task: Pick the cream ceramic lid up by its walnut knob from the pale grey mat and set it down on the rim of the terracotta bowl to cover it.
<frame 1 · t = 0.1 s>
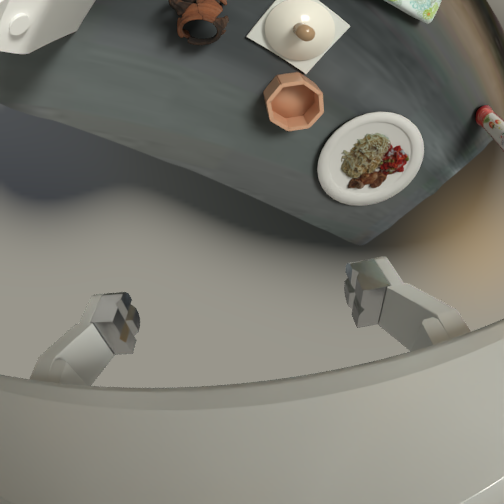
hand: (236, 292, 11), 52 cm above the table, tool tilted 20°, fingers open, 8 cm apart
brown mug: (199, 11, 39), on the table
bowl: (290, 96, 55), on the table
mat: (299, 28, 43), on the table
liquor: (481, 112, 56), on the table
plated food: (371, 158, 70), on the table
lid: (300, 29, 43), point 1 cm above the table, touching mat
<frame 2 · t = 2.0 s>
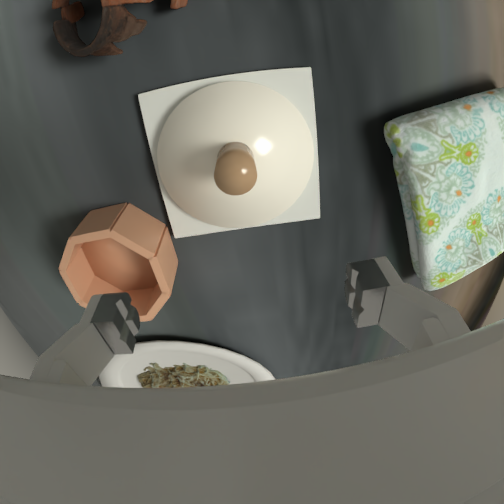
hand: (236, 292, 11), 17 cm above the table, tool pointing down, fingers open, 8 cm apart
bowl: (125, 251, 30), on the table
mat: (235, 154, 25), on the table
plated food: (188, 387, 46), on the table
towel: (460, 182, 28), on the table
lid: (235, 156, 24), point 1 cm above the table, touching mat
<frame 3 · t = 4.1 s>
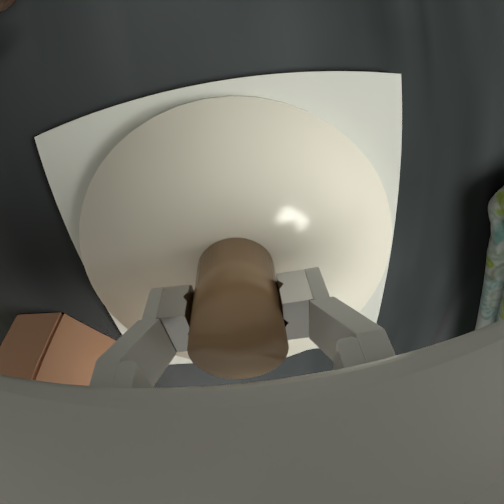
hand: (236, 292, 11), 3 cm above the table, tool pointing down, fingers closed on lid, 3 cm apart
bowl: (77, 365, 18), on the table
mat: (235, 250, 13), on the table
lid: (235, 258, 13), point 1 cm above the table, touching gripper, mat
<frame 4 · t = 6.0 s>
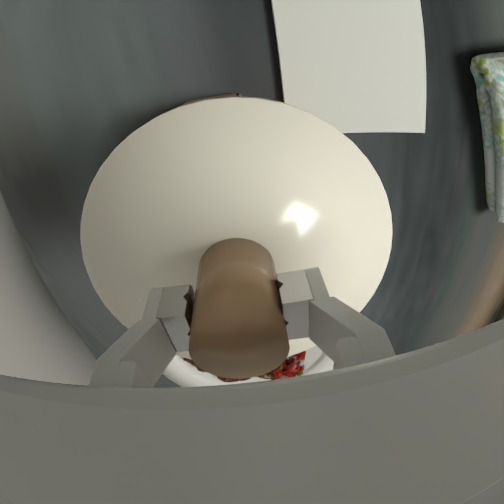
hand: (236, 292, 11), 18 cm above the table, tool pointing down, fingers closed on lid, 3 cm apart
mat: (357, 58, 21), on the table
plated food: (249, 344, 43), on the table
lid: (236, 258, 13), point 16 cm above the table, touching gripper
when the fingers open (8 cm above the table, at t = 8.1 s): lid stays where it is, resting on bowl.
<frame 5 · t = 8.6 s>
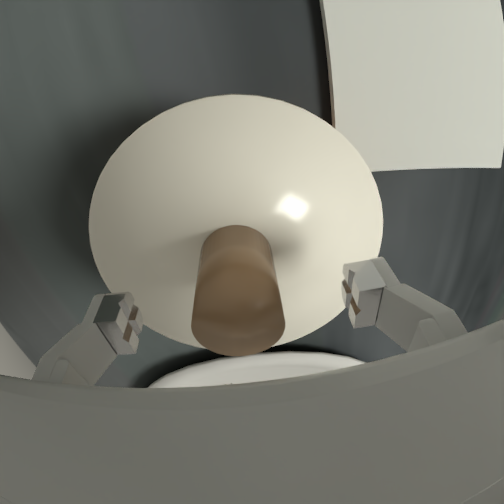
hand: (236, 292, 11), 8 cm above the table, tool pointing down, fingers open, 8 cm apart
mat: (433, 61, 13), on the table
plated food: (263, 409, 34), on the table
lid: (235, 245, 13), point 5 cm above the table, touching bowl
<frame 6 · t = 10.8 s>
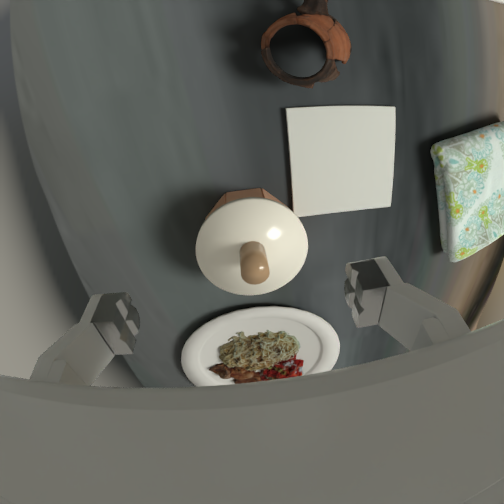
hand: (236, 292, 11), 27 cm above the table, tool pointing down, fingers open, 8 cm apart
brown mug: (304, 39, 27), on the table
bowl: (248, 228, 40), on the table
mat: (344, 159, 35), on the table
plated food: (260, 356, 55), on the table
towel: (473, 185, 39), on the table
lid: (251, 248, 35), point 5 cm above the table, touching bowl
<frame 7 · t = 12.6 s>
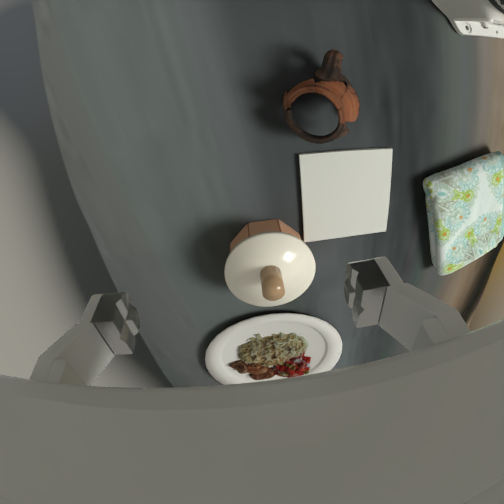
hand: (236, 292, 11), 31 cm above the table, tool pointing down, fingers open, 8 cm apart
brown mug: (319, 93, 35), on the table
bowl: (266, 250, 48), on the table
mat: (347, 194, 43), on the table
plated food: (273, 353, 64), on the table
towel: (462, 208, 46), on the table
lid: (270, 270, 44), point 5 cm above the table, touching bowl
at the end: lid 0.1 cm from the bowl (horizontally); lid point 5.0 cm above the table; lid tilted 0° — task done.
